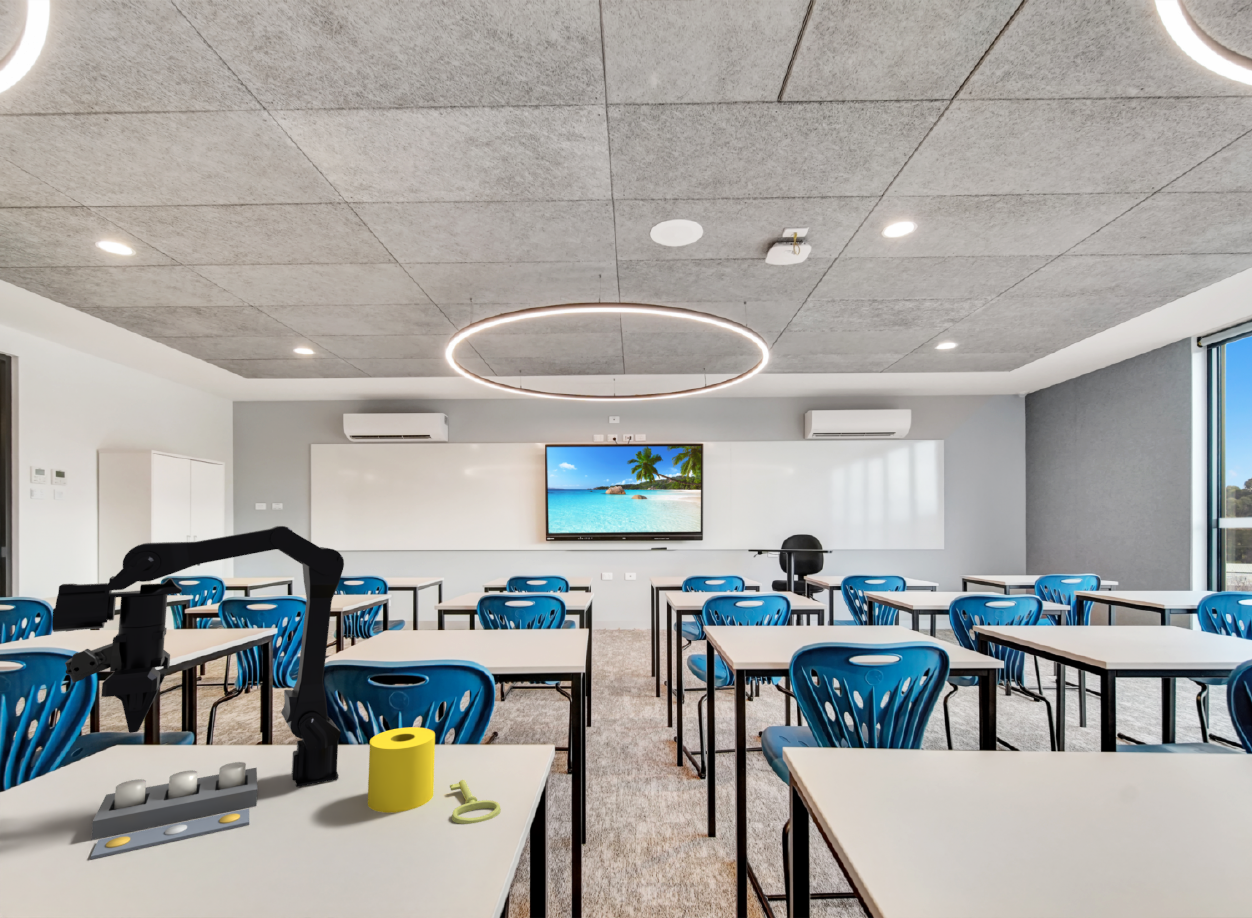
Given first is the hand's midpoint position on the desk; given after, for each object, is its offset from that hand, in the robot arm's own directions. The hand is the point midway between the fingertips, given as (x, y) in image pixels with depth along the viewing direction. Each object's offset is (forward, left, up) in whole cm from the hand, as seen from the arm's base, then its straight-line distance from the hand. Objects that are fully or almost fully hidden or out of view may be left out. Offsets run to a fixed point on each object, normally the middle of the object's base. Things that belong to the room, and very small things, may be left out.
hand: (135, 729), depth 94 cm
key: (-45, +23, -14) cm, 52 cm away
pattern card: (-6, +9, -13) cm, 17 cm away
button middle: (-7, 0, -11) cm, 13 cm away
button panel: (-6, 0, -13) cm, 15 cm away
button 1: (0, 0, -11) cm, 11 cm away
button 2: (-13, 0, -11) cm, 17 cm away
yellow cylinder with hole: (-36, +14, -13) cm, 41 cm away
